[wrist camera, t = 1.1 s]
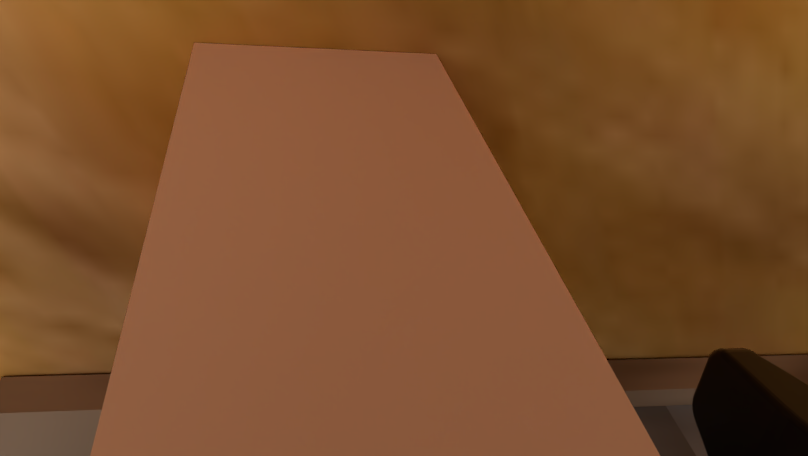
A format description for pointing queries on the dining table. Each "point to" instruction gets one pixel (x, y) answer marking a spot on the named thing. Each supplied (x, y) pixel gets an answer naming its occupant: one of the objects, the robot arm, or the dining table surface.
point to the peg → (348, 279)
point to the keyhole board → (84, 394)
